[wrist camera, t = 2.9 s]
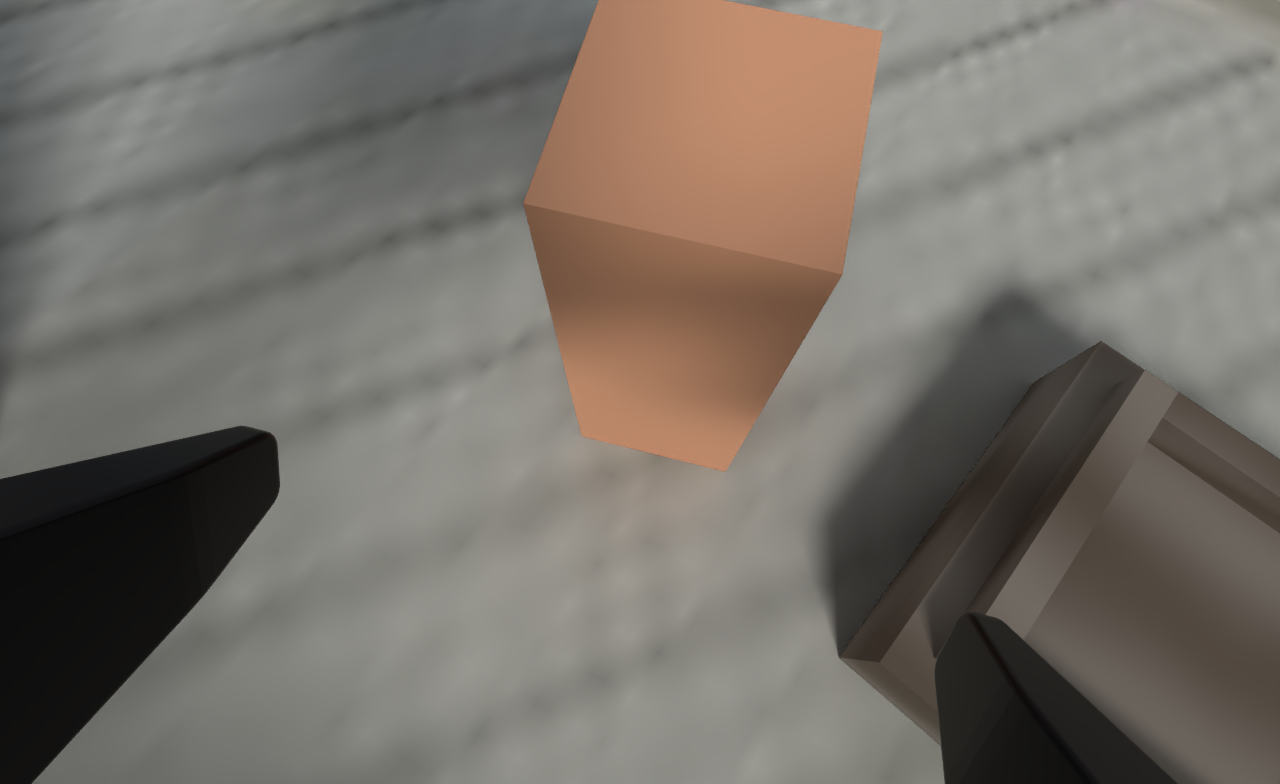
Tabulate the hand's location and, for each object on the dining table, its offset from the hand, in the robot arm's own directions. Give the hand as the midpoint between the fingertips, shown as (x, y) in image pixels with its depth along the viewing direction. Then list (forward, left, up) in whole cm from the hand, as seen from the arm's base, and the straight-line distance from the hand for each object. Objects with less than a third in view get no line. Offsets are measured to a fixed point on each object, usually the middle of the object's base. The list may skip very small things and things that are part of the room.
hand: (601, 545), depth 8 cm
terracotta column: (+4, +6, -13) cm, 15 cm away
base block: (+13, -7, -13) cm, 20 cm away
